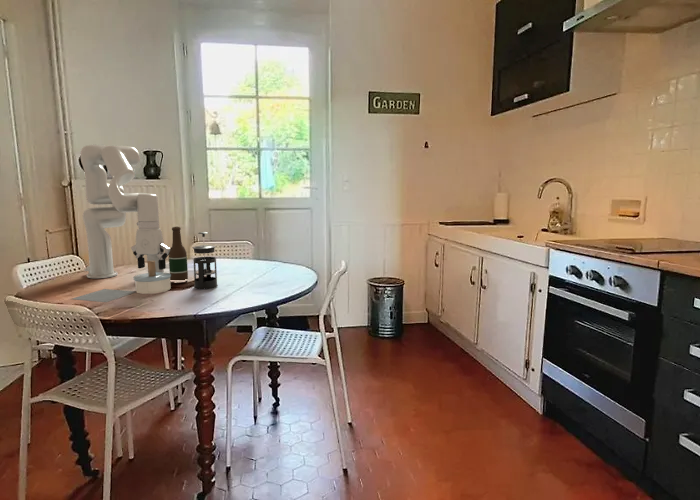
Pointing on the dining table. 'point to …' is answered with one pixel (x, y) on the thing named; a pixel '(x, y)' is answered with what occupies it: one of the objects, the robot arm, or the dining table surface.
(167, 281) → the bowl
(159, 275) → the lid
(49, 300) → the dining table surface
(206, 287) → the french press
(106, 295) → the mat
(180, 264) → the beer bottle
